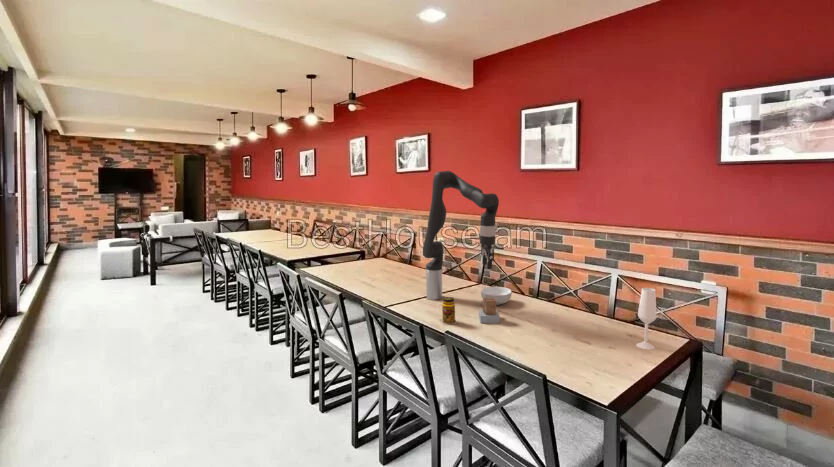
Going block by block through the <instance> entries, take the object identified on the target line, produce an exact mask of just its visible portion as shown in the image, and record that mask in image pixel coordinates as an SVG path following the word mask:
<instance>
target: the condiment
mask: <svg viewBox="0 0 834 467" xmlns="http://www.w3.org/2000/svg"><path fill="white" fill-rule="evenodd" d="M442 300H443V301H442V304H441V306H442V307H441V308H442V312H441V314H442V316H441V317H442V318H439V319H438V321H440V323H442V324H443V325H444V326H446V325H455V324H459V322H458V321H456V307H455V306H456V304H455V299H454V297H453V296H452V297H450V296H445V297H442Z"/></svg>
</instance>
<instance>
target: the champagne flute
mask: <svg viewBox="0 0 834 467" xmlns="http://www.w3.org/2000/svg"><path fill="white" fill-rule="evenodd" d="M656 295H657V293H656V289H655V288H651V287H642V288H641V292H640V299H639V305H638V309H637V310H638V311H637V316H638V318H639V319H640V321H641V322H642V323H644V336H643V341H642V342H638V343H636V344H635V346H636V347H637V348H639V349H643V350H647V351H648V350H651V351H653V350H655V346H654V345H653V344H651V343H649V341H648V338H649V334H648V333H649V331H648V330H649V324H651V323H653V322H654V321H655V320H657V317H658V314H657V301H656V300H657V296H656Z"/></svg>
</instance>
